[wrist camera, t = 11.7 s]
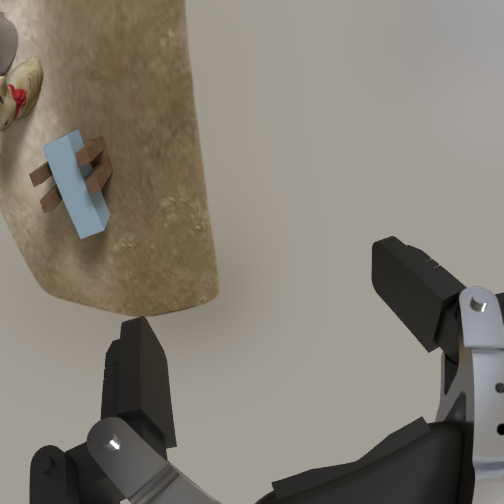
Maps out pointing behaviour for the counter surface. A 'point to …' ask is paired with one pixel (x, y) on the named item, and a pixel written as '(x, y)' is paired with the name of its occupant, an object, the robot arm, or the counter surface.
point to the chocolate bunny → (19, 91)
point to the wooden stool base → (89, 153)
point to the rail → (76, 185)
